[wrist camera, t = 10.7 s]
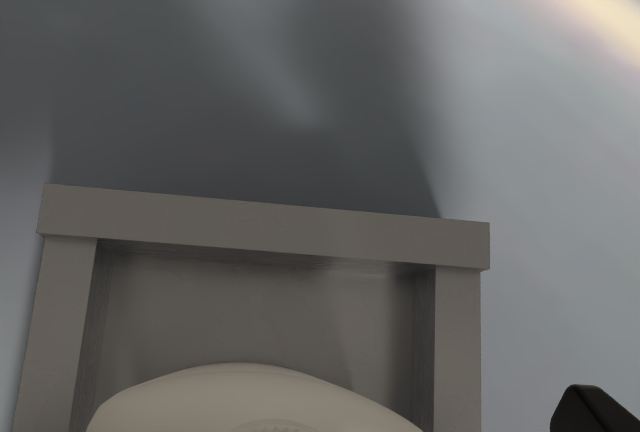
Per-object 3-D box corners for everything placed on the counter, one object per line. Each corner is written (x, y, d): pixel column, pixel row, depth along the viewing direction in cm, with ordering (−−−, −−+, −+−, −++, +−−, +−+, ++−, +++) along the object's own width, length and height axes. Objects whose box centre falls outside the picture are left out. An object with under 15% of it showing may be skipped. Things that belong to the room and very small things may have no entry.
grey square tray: (446, 622, 15) (493, 685, 13) (14, 618, 14) (-45, 686, 11) (449, 243, 18) (489, 222, 15) (79, 212, 17) (45, 183, 14)
